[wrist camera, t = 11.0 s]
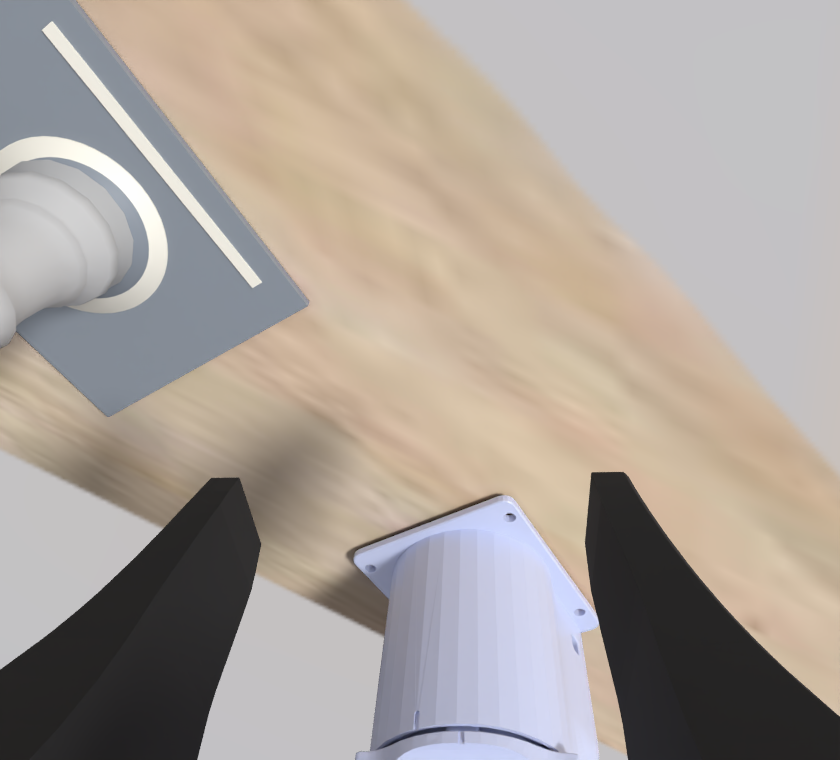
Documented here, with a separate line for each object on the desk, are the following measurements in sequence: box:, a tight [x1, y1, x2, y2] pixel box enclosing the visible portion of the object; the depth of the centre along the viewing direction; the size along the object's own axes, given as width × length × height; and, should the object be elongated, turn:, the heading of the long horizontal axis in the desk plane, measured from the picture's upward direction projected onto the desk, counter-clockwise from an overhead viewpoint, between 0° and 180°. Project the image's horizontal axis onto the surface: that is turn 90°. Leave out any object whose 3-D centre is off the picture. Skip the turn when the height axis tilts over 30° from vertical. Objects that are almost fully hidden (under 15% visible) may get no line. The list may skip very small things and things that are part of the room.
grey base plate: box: [0, 0, 309, 417], centre depth 21 cm, size 12×10×1 cm
